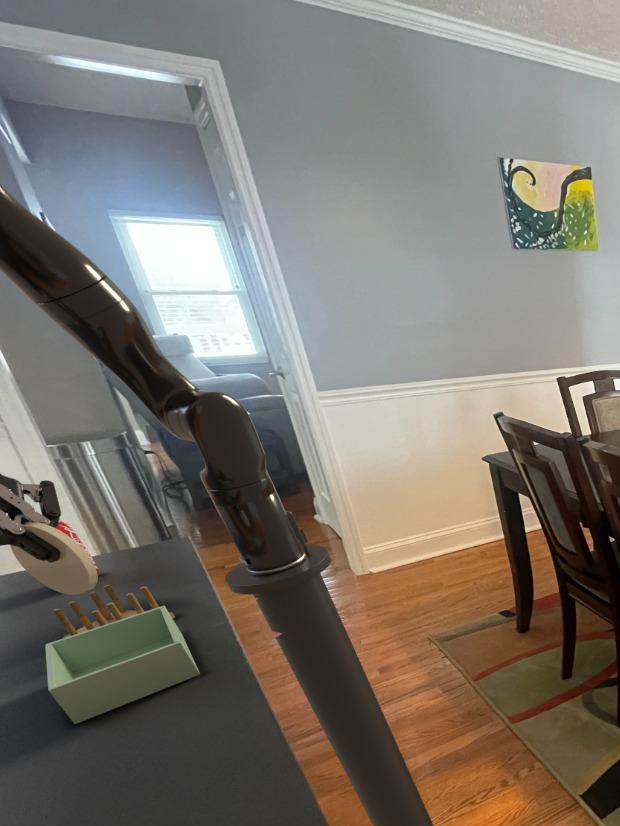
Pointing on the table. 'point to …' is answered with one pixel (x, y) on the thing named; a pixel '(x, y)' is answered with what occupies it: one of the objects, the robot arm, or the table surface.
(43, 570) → the plate
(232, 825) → the table surface
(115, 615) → the dish rack
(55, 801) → the table surface
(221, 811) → the table surface
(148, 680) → the light green open box
